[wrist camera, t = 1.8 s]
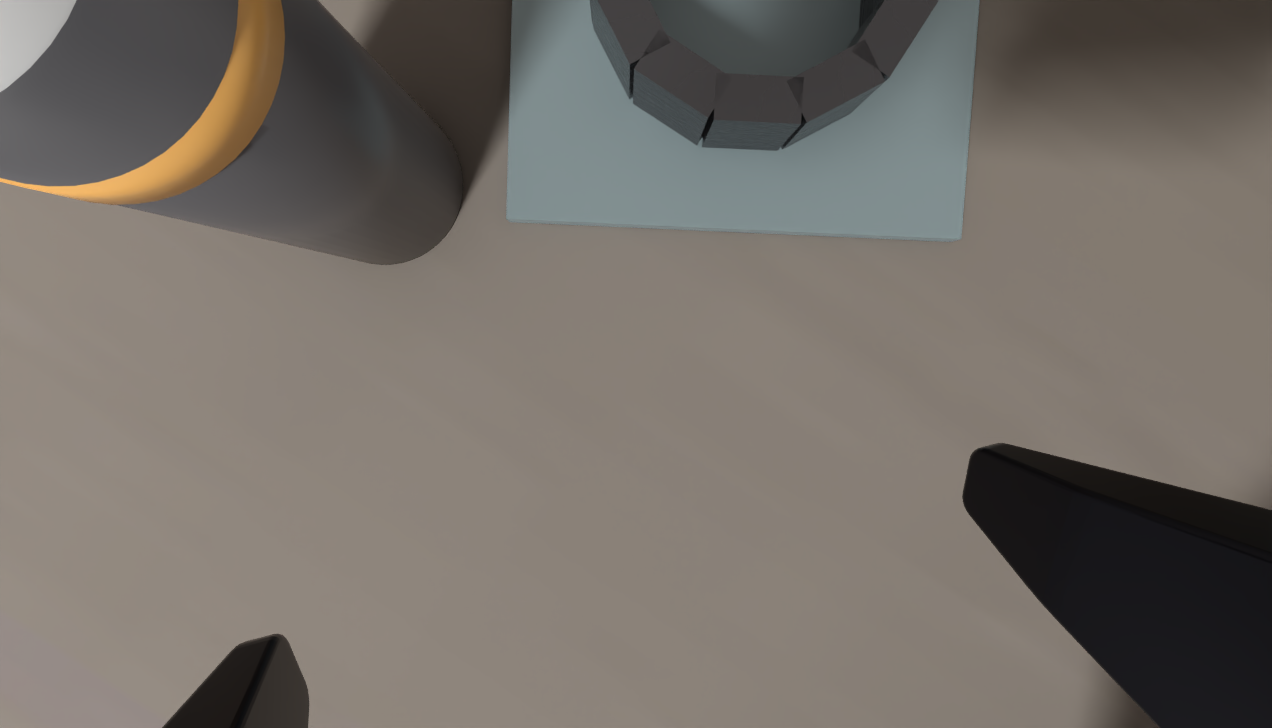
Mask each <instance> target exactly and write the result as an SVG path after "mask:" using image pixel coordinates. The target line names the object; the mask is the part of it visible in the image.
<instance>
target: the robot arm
mask: <svg viewBox="0 0 1272 728" xmlns="http://www.w3.org/2000/svg"><path fill="white" fill-rule="evenodd" d="M962 497H963V503H964V506H965V508H966V510H967V512H968V514H969V515H970V516H971V517H972V519H973V520H974V521H975V522H976V524H977V525H978V526H979V527H980V529H981V530H982V531H983V532H984V534H985V535H986V536H987V537H988V539H989V540H990V541H991V542H992V543H993V545H994V546H995V547H996V548H997V550H998V551H999V552H1000V553H1001V555H1002V556H1003V557H1004V558H1005V560H1006V561H1007V562H1008V563H1009V565H1010V566H1011V567H1012V568H1013V570H1014V571H1015V572H1016V573H1017V574H1018V576H1019V577H1020V578H1021V579H1022V581H1023V582H1024V583H1025V584H1026V586H1027V587H1028V588H1029V589H1030V590H1031V592H1032V593H1033V594H1034V595H1035V596H1036V598H1037V599H1038V600H1039V601H1040V602H1041V603H1042V604H1043V606H1044V607H1045V608H1046V609H1047V610H1048V611H1049V612H1050V613H1051V614H1052V615H1053V617H1054V618H1055V619H1056V620H1057V621H1058V622H1059V623H1060V624H1061V625H1062V626H1063V627H1064V628H1065V629H1066V630H1067V631H1068V632H1069V633H1070V634H1071V635H1072V637H1073V638H1074V639H1075V640H1076V641H1077V642H1078V643H1079V644H1080V645H1081V646H1082V647H1083V648H1084V649H1085V650H1086V651H1087V652H1088V653H1089V654H1090V655H1091V656H1092V658H1093V659H1094V660H1095V661H1096V662H1097V663H1098V664H1099V665H1100V666H1101V667H1102V668H1103V669H1104V670H1105V671H1106V672H1107V673H1108V674H1109V675H1110V676H1111V677H1112V679H1113V680H1114V681H1115V682H1116V683H1117V684H1118V685H1119V686H1120V687H1121V688H1122V689H1123V690H1124V691H1125V692H1126V693H1127V694H1128V695H1129V696H1130V697H1131V698H1132V700H1133V701H1134V702H1135V703H1136V704H1137V705H1138V706H1139V707H1140V708H1141V709H1142V710H1143V711H1144V712H1145V713H1146V714H1147V715H1148V716H1149V717H1150V718H1151V720H1152V721H1153V722H1154V723H1155V724H1156V725H1157V726H1158V727H1159V728H1272V510H1269V509H1265V508H1261V507H1257V506H1253V505H1249V504H1245V503H1241V502H1237V501H1233V500H1229V499H1225V498H1221V497H1217V496H1213V495H1209V494H1205V493H1201V492H1197V491H1193V490H1189V489H1185V488H1181V487H1177V486H1173V485H1169V484H1165V483H1161V482H1157V481H1153V480H1149V479H1145V478H1141V477H1137V476H1133V475H1129V474H1125V473H1121V472H1117V471H1113V470H1110V469H1106V468H1102V467H1098V466H1094V465H1090V464H1086V463H1082V462H1078V461H1074V460H1070V459H1066V458H1062V457H1058V456H1054V455H1050V454H1046V453H1042V452H1038V451H1034V450H1030V449H1026V448H1022V447H1018V446H1014V445H1010V444H1005V443H997V444H993V445H989V446H985V447H981V448H978V449H976V450H975V451H974V452H973V453H972V454H971V456H970V459H969V464H968V469H967V474H966V479H965V484H964V489H963V496H962ZM308 719H309V695H308V689H307V685H306V682H305V680H304V677H303V675H302V673H301V670H300V668H299V666H298V663H297V661H296V659H295V656H294V654H293V651H292V649H291V647H290V644H289V642H288V640H287V639H286V638H285V637H284V636H283V635H281V634H272V635H269V636H265V637H261V638H257V639H254V640H250V641H246V642H243V643H241V644H239V645H238V646H236V647H235V648H234V649H233V650H232V651H231V652H230V653H229V654H228V655H227V656H226V657H225V658H224V660H223V661H222V662H221V663H220V664H219V665H218V666H217V667H216V668H215V670H214V671H213V672H212V673H211V674H210V675H209V676H208V677H207V678H206V680H205V681H204V682H203V683H202V684H201V685H200V686H199V687H198V688H197V690H196V691H195V692H194V693H193V694H192V695H191V696H190V697H189V698H188V700H187V701H186V702H185V703H184V704H183V705H182V706H181V707H180V708H179V710H178V711H177V712H176V713H175V714H174V715H173V716H172V717H171V718H170V720H169V721H168V722H167V723H166V724H165V725H164V726H163V727H162V728H308Z"/></svg>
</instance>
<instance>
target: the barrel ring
mask: <svg viewBox="0 0 1272 728" xmlns="http://www.w3.org/2000/svg"><path fill="white" fill-rule="evenodd" d="M937 3H938V0H861V1H860V17H859V30H858V31H857V33H856V34H855V36H854V37H853V39H852V41H851V42H850V44H849V45H848V47H847V48H846V50H844V51H842V52H840V53H838V54H837V55H835V56H833V57H831V58H829V59H827V60H825V61H823V62H821V63H820V64H818V65H816V66H814V67H812V68H810V69H808V70H806V71H804V72H803V73H801V74H799V75H797V76H795V77H792V76H772V75H752V74H732V73H724V72H723V71H721V70H720V69H718V68H717V67H715V66H714V65H712V64H711V63H709V62H708V61H706V60H705V59H703V58H702V57H700V56H699V55H697V54H696V53H694V52H693V51H691V50H690V49H688V48H687V47H685V46H684V45H682V44H681V43H679V42H678V41H676V40H675V39H673V38H672V37H670V36H669V35H667V34H666V32H665V30H664V28H663V26H662V24H661V22H660V20H659V18H658V16H657V14H656V12H655V10H654V8H653V6H652V4H651V2H650V0H590V8H591V17H592V24H593V29H594V31H595V33H596V35H597V37H598V39H599V41H600V43H601V45H602V47H603V49H604V51H605V53H606V55H607V57H608V59H609V61H610V63H611V65H612V67H613V69H614V71H615V73H616V74H617V76H618V78H619V80H620V82H621V84H622V86H623V88H624V90H625V92H626V94H627V96H628V98H629V99H631V98H633V104H634V105H636V106H637V107H639V108H640V109H642V110H643V111H645V112H646V113H648V114H649V115H651V116H652V117H654V118H656V119H657V120H659V121H660V122H662V123H663V124H665V125H666V126H668V127H669V128H671V129H672V130H674V131H675V132H677V133H678V134H680V135H681V136H683V137H684V138H686V139H687V140H689V141H690V142H692V143H694V144H695V145H698V143H699V142H700V140H701V138H702V147H705V148H726V149H747V150H768V151H778V150H779V148H780V147H781V148H782V150H783V149H785V148H787V147H789V146H790V145H792V144H794V143H796V142H798V141H800V140H802V139H804V138H806V137H808V136H809V135H811V134H813V133H815V132H817V131H819V130H821V129H823V128H825V127H827V126H828V125H830V124H832V123H834V122H836V121H838V120H840V119H842V118H844V117H845V116H847V115H849V114H851V113H852V112H853V111H854V110H855V109H856V108H857V107H858V106H859V105H860V104H861V103H862V102H864V101H865V100H866V99H867V98H868V97H869V96H870V95H871V94H872V93H873V92H874V91H875V90H876V89H878V88H879V87H880V86H881V85H882V84H883V83H884V82H885V81H886V80H887V79H888V78H889V77H890V76H891V74H892V73H893V71H894V70H895V68H896V67H897V65H898V63H899V62H900V60H901V59H902V57H903V56H904V54H905V53H906V51H907V49H908V48H909V46H910V45H911V43H912V42H913V40H914V38H915V37H916V35H917V34H918V32H919V31H920V29H921V28H922V26H923V24H924V23H925V21H926V20H927V18H928V17H929V15H930V14H931V12H932V10H933V9H934V7H935V6H936V4H937Z"/></svg>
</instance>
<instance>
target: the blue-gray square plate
mask: <svg viewBox="0 0 1272 728" xmlns="http://www.w3.org/2000/svg"><path fill="white" fill-rule="evenodd" d="M860 1H861V0H650V2H651V4H652V6H653V8H654V10H655V12H656V14H657V16H658V18H659V20H660V22H661V24H662V26H663V28H664V30H665V32H666V34H667V35H669V36H670V37H672V38H673V39H675V40H676V41H678V42H679V43H681V44H682V45H684V46H685V47H687V48H688V49H690V50H691V51H693V52H694V53H696V54H697V55H699V56H700V57H702V58H703V59H705V60H706V61H708V62H709V63H711V64H712V65H714V66H715V67H717V68H718V69H720V70H721V71H723V72H724V73H732V74H752V75H772V76H792V77H795V76H797V75H799V74H801V73H803V72H804V71H806V70H808V69H810V68H812V67H814V66H816V65H818V64H820V63H821V62H823V61H825V60H827V59H829V58H831V57H833V56H835V55H837V54H838V53H840V52H842V51H844V50H846V48H847V47H848V45H849V44H850V42H851V41H852V39H853V37H854V36H855V34H856V33H857V31H858V30H859V17H860ZM979 3H980V0H938V3H937V4H936V6H935V7H934V9H933V10H932V12H931V14H930V15H929V17H928V18H927V20H926V21H925V23H924V24H923V26H922V28H921V29H920V31H919V32H918V34H917V35H916V37H915V38H914V40H913V42H912V43H911V45H910V46H909V48H908V49H907V51H906V53H905V54H904V56H903V57H902V59H901V60H900V62H899V63H898V65H897V67H896V68H895V70H894V71H893V73H892V74H891V76H890V77H889V78H888V79H887V80H886V81H885V82H884V83H883V84H882V85H881V86H880V87H879V88H878V89H876V90H875V91H874V92H873V93H872V94H871V95H870V96H869V97H868V98H867V99H866V100H865V101H864V102H862V103H861V104H860V105H859V106H858V107H857V108H856V109H855V110H854V111H853V112H852V113H851V114H849V115H847V116H845V117H844V118H842V119H840V120H838V121H836V122H834V123H832V124H830V125H828V126H827V127H825V128H823V129H821V130H819V131H817V132H815V133H813V134H811V135H809V136H808V137H806V138H804V139H802V140H800V141H798V142H796V143H794V144H792V145H790V146H789V147H787V148H785V149H783V150H782V148H781V147H780V148H779V150H778V151H768V150H747V149H726V148H705V147H702V138H701V140H700V142H699V143H698V145H695V144H694V143H692V142H690V141H689V140H687V139H686V138H684V137H683V136H681V135H680V134H678V133H677V132H675V131H674V130H672V129H671V128H669V127H668V126H666V125H665V124H663V123H662V122H660V121H659V120H657V119H656V118H654V117H652V116H651V115H649V114H648V113H646V112H645V111H643V110H642V109H640V108H639V107H637V106H636V105H634V104H633V98H631V99H629V98H628V96H627V94H626V92H625V90H624V88H623V86H622V84H621V82H620V80H619V78H618V76H617V74H616V73H615V71H614V69H613V67H612V65H611V63H610V61H609V59H608V57H607V55H606V53H605V51H604V49H603V47H602V45H601V43H600V41H599V39H598V37H597V35H596V33H595V31H594V29H593V24H592V17H591V8H590V0H512V24H511V62H510V99H509V137H508V174H507V212H506V219H507V220H508V221H509V222H520V223H542V224H565V225H587V226H609V227H632V228H654V229H676V230H699V231H721V232H743V233H765V234H788V235H810V236H832V237H855V238H877V239H899V240H922V241H944V242H952V241H956V240H960V239H961V235H962V223H963V210H964V197H965V184H966V171H967V158H968V145H969V132H970V119H971V106H972V93H973V80H974V67H975V54H976V41H977V28H978V16H979Z"/></svg>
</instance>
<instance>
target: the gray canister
mask: <svg viewBox="0 0 1272 728" xmlns="http://www.w3.org/2000/svg"><path fill="white" fill-rule="evenodd" d="M0 182H4V183H8V184H12V185H16V186H20V187H25V188H29V189H33V190H38V191H42V192H47V193H51V194H56V195H60V196H65V197H69V198H74V199H78V200H83V201H87V202H93V203H102V204H111V205H119V206H124V207H128V208H132V209H137V210H141V211H145V212H150V213H154V214H158V215H163V216H167V217H171V218H176V219H180V220H184V221H189V222H193V223H197V224H202V225H206V226H210V227H215V228H219V229H223V230H228V231H232V232H236V233H241V234H245V235H249V236H254V237H258V238H262V239H267V240H271V241H275V242H280V243H284V244H288V245H293V246H297V247H301V248H306V249H310V250H314V251H319V252H323V253H327V254H332V255H336V256H340V257H345V258H349V259H353V260H358V261H362V262H366V263H371V264H379V265H391V264H398V263H403V262H407V261H410V260H413V259H415V258H418V257H420V256H422V255H424V254H425V253H427V252H428V251H430V250H431V249H433V248H434V247H435V246H436V245H437V244H439V242H440V241H441V240H442V239H443V238H444V237H445V236H446V235H447V233H448V232H449V230H450V229H451V227H452V225H453V224H454V222H455V220H456V218H457V215H458V212H459V209H460V205H461V201H462V193H463V177H462V171H461V166H460V163H459V159H458V156H457V154H456V152H455V149H454V147H453V145H452V144H451V142H450V141H449V139H448V137H447V136H446V135H445V134H444V132H443V131H442V130H441V129H440V128H439V127H438V125H437V124H436V123H435V122H434V121H433V120H432V119H431V118H430V117H429V116H428V115H427V114H426V113H425V112H424V111H423V110H422V109H421V108H420V107H419V106H418V105H417V104H416V102H415V101H414V100H413V99H412V98H411V97H410V96H409V95H408V94H407V93H406V92H405V91H404V90H403V89H402V88H401V87H400V86H399V85H398V84H397V83H396V82H395V81H394V79H393V78H392V77H391V76H390V75H389V74H388V73H387V72H386V71H385V70H384V69H383V68H382V67H381V66H380V65H379V64H378V63H377V62H376V61H375V60H374V59H373V58H372V56H371V55H370V54H369V53H368V52H367V51H366V50H365V49H364V48H363V47H362V46H361V45H360V44H359V43H358V42H357V41H356V40H355V39H354V38H353V37H352V36H351V35H350V33H349V32H348V31H347V30H346V29H345V28H344V27H343V26H342V25H341V24H340V23H339V22H338V21H337V20H336V19H335V18H334V17H333V16H332V15H331V14H330V13H329V12H328V10H327V9H326V8H325V7H324V6H323V5H322V4H321V3H320V2H319V1H318V0H0Z"/></svg>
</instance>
